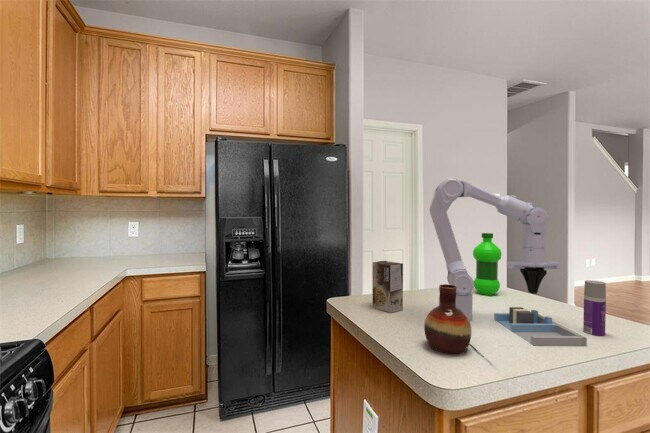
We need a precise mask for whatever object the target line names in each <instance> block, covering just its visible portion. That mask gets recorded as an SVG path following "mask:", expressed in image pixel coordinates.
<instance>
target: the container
mask: <svg viewBox="0 0 650 433" xmlns="http://www.w3.org/2000/svg"><path fill="white" fill-rule="evenodd" d="M606 285H607V284H606V282H604V281H600V280H591V279H589V280H587V279H586V280H584V287H583V289H584V290H583V326H582V327H583V328H582V331H583V333H585V334H587V335H591V336H595V337H606V320H607V319H606V318H607V317H606V314H607V312H606V310H607V296H606V295H607V291H606V290H607V289H606V288H607V287H606Z"/></svg>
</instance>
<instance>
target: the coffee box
mask: <svg viewBox="0 0 650 433" xmlns="http://www.w3.org/2000/svg"><path fill="white" fill-rule="evenodd" d="M371 269H372V308H374V309H377V310H381V311H383V312H387V313H389V314H391V313H396V312H400V311H401V312H402V311H403V309H404V305H403V304H404V303H403V302H404V300H403V299H404V292H403V291H404V290H403V288H404V284H403V283H404V263H400V262H395V261H390V260H389V261H388V260H380V261H379V260H378V261H373V262H372V268H371Z"/></svg>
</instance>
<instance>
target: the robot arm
mask: <svg viewBox="0 0 650 433" xmlns="http://www.w3.org/2000/svg"><path fill="white" fill-rule="evenodd" d="M468 197H469V198H472V199H474V200H477V201H480V202H483V203H485V204H488V205H491V206H493V207H495V209H496V210H497V212H498V214H501V215H504V216H505V217H508V218H511V219H514V220H515V221H518V222H520V223H521V224H522V243H521V245H522V247H521V248H522V249H521V251H522V252H521V260H514V261H506V268H507V269H509V270H515V269H519V270H520V272H521V275H522V276H523V279H524V281H525V284H526V287H527V292H528V293H529V294H533V295H537V294H538V291H539V289H540V285H541V283H542V282H543V279H544V278H545V277H546V275H547V269H548V270H549V269H550V270H551V269H552V270H560V268H561V263H560V262H557V261H546V260H545V256H546V225H547V224H548V223H549V222H550V216H549V214H548V212H547V211H546V209H544V208H543V207H540V206H533V203H532V202H528V201H527V202H525V201H523V200H521V199H519V198H517V195H513V194H512V195H508V194H507V195H504V196H500V195H497V194H495V193H493V192H491V191H488V190H487V189H485V188H482V187H479V186H477V185H475V184H472V182H471V183H470V182H468V181H464V180H460V179H458V178H455V177H449V178H446V179H445V180H443V181H442V182H440V183H439V184H438V186H437V187H436V188H435V189H434V192H433V197H432V199H431V203H430V206H429V213H430V217H431V220H432V223H433V226H434V230H435V232H436V236H437V239H438V241H439V245H440V248H441V251H442V255H443V258H444V261H445V266H446V269H447V277H446V279H447V282H448V285H454V286H456V287H457V291H456V308H458V309H460V310H461V311H462V312H463V313H464V314H465V315H466V316H467V318H468V320H469V322H470V323H471V322H472V321H473V299H474V298H473V294H474V293H473V290H474V289H475V287H474V278H473V277H472V276H471V275H470V274H469V273H468V270H467V267H466V266H465V264H464V262H463V259H462V256H461V253H460V250H459V247H458V243H457V239H456V237H455V234H454V232H453V229H452V225H451V222H450V218H449V216H448V210H449V209H450V207H451V206H452V204H453V203H454V201H456V200H457V199H458V198H468ZM439 305H440V294H439V296H438V306H439Z"/></svg>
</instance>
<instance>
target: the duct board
mask: <svg viewBox="0 0 650 433" xmlns="http://www.w3.org/2000/svg"><path fill="white" fill-rule="evenodd" d="M530 312H532V313H534V324H531V323H510V322H509V312H508V313H505V312H502V313H501V312H500V313H499V312H497V313H496V312H494V313H493V314H494V315H493V321H495V322H496V323H498V324H500V325H501V326H503V327H504V328H505V329H507V330H509V331H510V332H512V333H513V334H515V335H516V336H518V337H520V338H521V339H522V340H524V341H526V342H527V343H528V344H530V345H531V346H535V347H538V346H539V347H541V346H542V347H587V345H588V343H587V341H588V340H587V338H588V337H586V336H584V335H582V334H579V332H575V331H573V330H572V329H569V328H567V327H565V326H563V325H561V324H559V323H557V322H555V321H554V320H553V317H550V316H549V315H548V316H547V315H546V316H543V315H541V314H539V311H538V310H536V309H531V310H530Z"/></svg>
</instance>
